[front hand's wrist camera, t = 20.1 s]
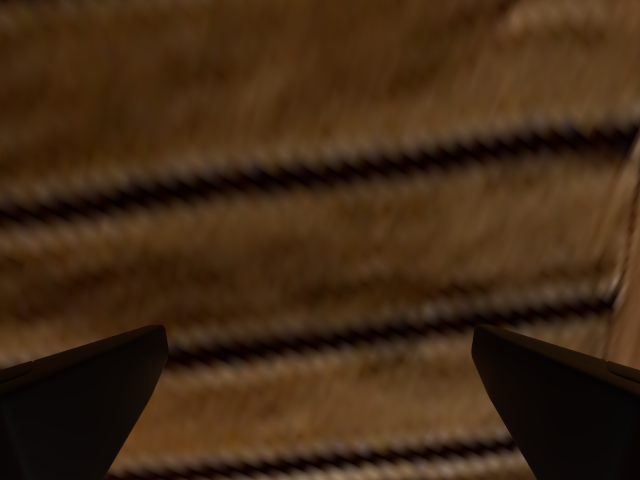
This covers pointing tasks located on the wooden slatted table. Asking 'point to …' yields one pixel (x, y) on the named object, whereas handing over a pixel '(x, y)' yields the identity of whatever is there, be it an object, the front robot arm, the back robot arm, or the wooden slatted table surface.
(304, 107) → the wooden slatted table surface
